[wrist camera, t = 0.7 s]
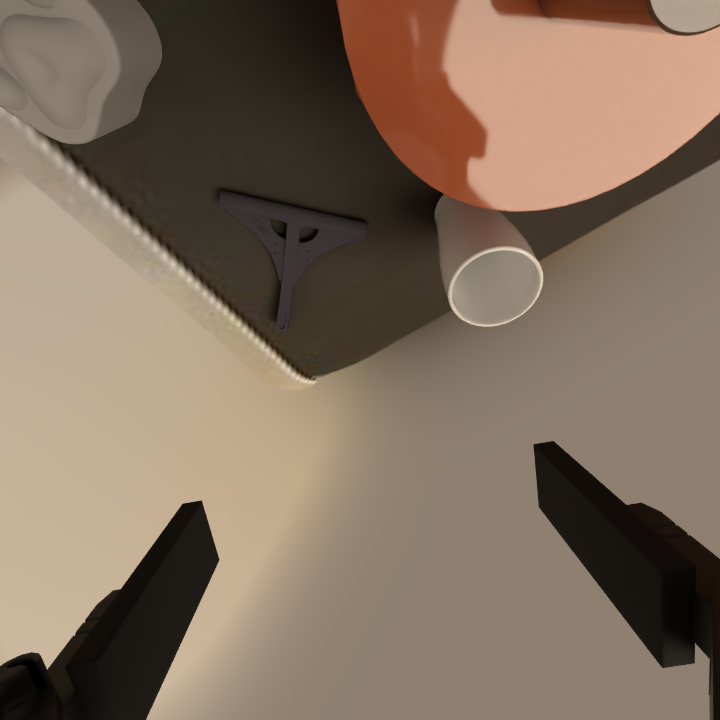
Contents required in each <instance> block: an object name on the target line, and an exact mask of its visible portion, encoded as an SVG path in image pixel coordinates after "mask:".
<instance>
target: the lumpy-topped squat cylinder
mask: <svg viewBox="0 0 720 720" xmlns="http://www.w3.org/2000/svg"><path fill="white" fill-rule="evenodd" d="M161 60H162V46H161V42H160V38H159V35H158V32H157V30H156V28H155V26H154V24H153V22H152V20H151V18H150V17H149V15H148V14H147V12H146V11H145V9H144V8H143V7H142V6H141V4H140V3H139V2H138V1H137V0H0V107H2V108H3V109H5V110H6V111H8V112H9V113H11V114H12V115H14V116H16V117H17V118H19V119H20V120H22V121H24V122H26V123H27V124H29V125H30V126H32V127H33V128H35V129H37V130H38V131H40V132H42V133H43V134H45V135H47V136H49V137H51V138H53V139H55V140H57V141H60V142H63V143H68V144H83V143H88V142H90V141H92V140H94V139H96V138H99V137H101V136H104V135H106V134H108V133H110V132H112V131H114V130H116V129H118V128H120V127H122V126H124V125H127V124H129V123H131V122H132V121H134V120H135V119H136V118H137V116H138V114H139V112H140V108H141V104H142V100H143V95H144V92H145V90H146V87H147V85H148V84H149V82H150V81H151V79H152V78H153V77H154V75H155V74H156V72H157V71H158V69H159V67H160V64H161Z"/></svg>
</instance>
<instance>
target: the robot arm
mask: <svg viewBox="0 0 720 720" xmlns="http://www.w3.org/2000/svg"><path fill="white" fill-rule="evenodd" d="M534 454H535V466H536V478H537V490H538V502H539V508H540V509H541V510H542V512H543V513H544V514H545V516H546V517H547V518H548V519H549V521H550V522H551V523H552V525H553V526H554V527H555V529H556V530H557V531H558V533H559V534H560V535H561V536H562V538H563V539H564V540H565V542H566V543H567V544H568V546H569V547H570V548H571V550H572V551H573V552H574V553H575V555H576V556H577V557H578V559H579V560H580V561H581V563H582V564H583V565H584V566H585V568H586V569H587V570H588V572H589V573H590V574H591V576H592V577H593V578H594V580H595V581H596V582H597V583H598V585H599V586H600V587H601V589H602V590H603V591H604V593H605V594H606V595H607V596H608V598H609V599H610V600H611V602H612V603H613V604H614V606H615V607H616V608H617V609H618V611H619V612H620V613H621V615H622V616H623V617H624V619H625V620H626V621H627V622H628V624H629V625H630V626H631V628H632V629H633V630H634V632H635V633H636V634H637V635H638V637H639V638H640V639H641V641H642V642H643V643H644V645H645V646H646V647H647V649H648V650H649V651H650V652H651V654H652V655H653V656H654V658H655V659H656V660H657V662H658V663H659V664H660V665H661V667H662V668H666V667H673V666H679V665H686V664H692V663H695V643H696V644H697V645H698V647H699V648H700V649H701V650H702V651H703V652H704V653H705V654H706V655H707V656H708V658H709V659H710V669H709V671H710V672H709V695H710V720H720V559H719V558H718V557H717V556H715V555H714V554H713V553H712V552H710V551H709V550H708V549H707V548H705V547H704V546H703V545H702V544H700V543H699V542H698V541H697V540H695V539H694V538H693V537H692V536H690V535H688V534H687V532H685V531H684V530H683V529H682V528H680V527H679V526H676V525H675V523H674V522H673V521H671V520H670V519H669V518H668V517H666V516H665V515H664V514H663V513H662V512H660V511H658V510H656V509H654V508H651V507H650V506H647V505H645V504H643V503H637V504H631V505H626V504H625V503H623V502H622V501H621V500H620V499H619V498H618V497H617V496H615V495H614V494H613V493H612V492H611V491H610V490H609V489H608V488H606V487H605V486H604V485H603V484H602V483H601V482H599V481H598V480H597V479H596V478H595V477H594V476H593V475H592V474H590V473H589V472H588V471H587V470H586V469H584V467H582V466H581V465H580V464H579V463H578V462H577V461H575V460H574V459H573V458H572V457H571V456H570V455H569V454H568V453H566V452H565V451H564V450H563V449H562V448H561V447H560V446H558V445H557V444H556V443H555V442H554V441H551V442H545V443H539V444H534ZM218 562H219V557H218V554H217V550H216V547H215V544H214V541H213V537H212V534H211V530H210V527H209V523H208V520H207V517H206V513H205V510H204V507H203V503H202V501H196V502H191V503H184V504H182V505H181V507H180V508H179V510H178V511H177V512H176V514H175V515H174V517H173V518H172V519H171V521H170V522H169V523H168V525H167V526H166V528H165V529H164V530H163V532H162V533H161V534H160V536H159V537H158V539H157V540H156V542H155V543H154V544H153V546H152V547H151V548H150V550H149V551H148V552H147V554H146V555H145V557H144V558H143V559H142V561H141V562H140V563H139V565H138V566H137V568H136V569H135V570H134V572H133V573H132V574H131V576H130V577H129V579H128V580H127V581H126V583H125V584H124V586H123V587H122V588H121V589H120V590H113V591H112V592H111V593H110V594H109V595H107V596H106V597H105V598H104V599H103V600H102V601H101V602H99V603H98V604H97V605H96V607H95V608H94V609H93V611H92V612H91V613H90V614H89V616H88V617H87V618H86V620H85V623H83V624H82V625H81V626H80V628H79V629H78V630H77V632H76V634H75V636H73V637H72V638H71V639H70V641H69V642H68V643H67V645H66V646H65V647H64V649H63V650H62V651H61V652H60V654H59V655H58V656H57V658H56V659H55V660H54V662H53V663H52V664H51V666H50V667H49V668H48V670H47V669H46V666H45V664H44V662H43V660H42V658H41V656H40V655H39V654H38V653H32V652H31V653H27V654H23V655H20V656H18V657H16V658H14V659H12V660H9V661H7V662H6V663H4V664H3V665H1V666H0V720H146V718H147V716H148V714H149V712H150V709H151V707H152V705H153V703H154V701H155V699H156V696H157V694H158V692H159V690H160V688H161V685H162V683H163V681H164V679H165V677H166V675H167V673H168V670H169V668H170V666H171V664H172V662H173V660H174V657H175V655H176V653H177V651H178V649H179V647H180V644H181V642H182V640H183V638H184V636H185V634H186V631H187V629H188V627H189V625H190V623H191V620H192V618H193V616H194V614H195V612H196V610H197V607H198V605H199V603H200V601H201V599H202V596H203V594H204V592H205V590H206V588H207V586H208V584H209V581H210V579H211V577H212V575H213V573H214V570H215V568H216V566H217V564H218Z"/></svg>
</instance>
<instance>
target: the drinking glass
mask: <svg viewBox="0 0 720 720" xmlns="http://www.w3.org/2000/svg"><path fill="white" fill-rule="evenodd" d="M435 223H436V227H437V236H438V248H439V262H440V271H441V277H442V281H443V286H444V289H445V292H446V295H447V298H448V301H449V304H450V306H451V308H452V310H453V312H454V313H455V314H456V315H457V316H458V317H459V318H460V319H462V320H463V321H465V322H467V323H470V324H472V325H477V326H497V325H501V324H505V323H507V322H510V321H512V320H514V319H516V318H518V317H519V316H521V315H522V314H524V313H525V312H526V311H527V310H528V309H529V308H530V307H531V306H532V305H533V304H534V302H535V301H536V300H537V298H538V296H539V294H540V292H541V289H542V285H543V271H542V268H541V265H540V263H539V262H538V260H537V258H536V256H535V254H534V252H533V250H532V249H531V247H530V245H529V244H528V242H527V241H526V239H525V238H524V237H523V235H522V234H521V233H520V231H519V230H518V229H517V228H516V227H515V226H514V225H513V224H512V223H511V222H510V221H509V220H508V219H507V218H506V217H505V216H504V215H503V213H502V212H501V211H498V210H490V209H486V208H481V207H477V206H472V205H469V204H467V203H464V202H461V201H459V200H456V199H453V198H451V197H449V196H447V195H445V194H443V195H442V197H441V198H440V199H439V201H438V203H437V205H436V208H435Z"/></svg>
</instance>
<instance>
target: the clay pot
mask: <svg viewBox="0 0 720 720" xmlns="http://www.w3.org/2000/svg"><path fill="white" fill-rule="evenodd" d="M336 4H337V8H338V12H339V17H340V23H341V28H342V34H343V40H344V45H345V50H346V53H347V57H348V61H349V64H350V68H351V71H352V75H353V79H354V83H355V87H356V92H357V93H358V96H359V98H360V99H361V101H362V103H363V104H364V106H365V108H366V110H367V112H368V114H369V116H370V117H371V119H372V121H373V123H374V124H375V126H376V128H377V130H378V132H379V133H380V135H381V136H382V138H383V139H384V140H385V142H386V143H387V144H388V146H389V147H390V148H391V150H392V151H393V152H394V154H395V155H396V156H397V157H398V158H399V160H400V161H401V162H402V163H403V164H405V165H406V166H407V167H408V168H409V169H410V170H411V171H412V172H413V173H414V174H415V175H416V176H418V177H419V178H420V179H422V180H423V181H424V182H426V183H427V184H428V185H430V186H431V187H433V188H434V189H436V190H438V191H440V192H442V193H443V194H445V195H447V196H449V197H451V198H453V199H456V200H459V201H461V202H464V203H467V204H469V205H472V206H477V207H481V208H486V209H490V210H498V211H511V212H523V211H540V210H546V209H552V208H557V207H563V206H567V205H570V204H573V203H577V202H580V201H584V200H587V199H590V198H592V197H595V196H597V195H600V194H602V193H605V192H607V191H609V190H612V189H614V188H616V187H618V186H620V185H622V184H624V183H626V182H628V181H629V180H631V179H633V178H635V177H637V176H639V175H641V174H642V173H644V172H645V171H647V170H648V169H650V168H652V167H653V166H655V165H656V164H658V163H659V162H661V161H662V160H664V159H665V158H667V157H668V156H669V155H671V154H672V153H673V152H675V151H676V150H677V149H679V148H680V147H681V146H682V145H684V144H685V143H686V142H688V141H689V140H690V139H692V138H693V137H694V136H695V135H696V134H697V133H698V132H700V131H701V130H702V129H703V128H704V127H705V126H706V125H707V124H708V123H710V122H711V121H712V120H713V119H714V118H715V117H716V116H717V115H718V114H719V113H720V0H336Z"/></svg>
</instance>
